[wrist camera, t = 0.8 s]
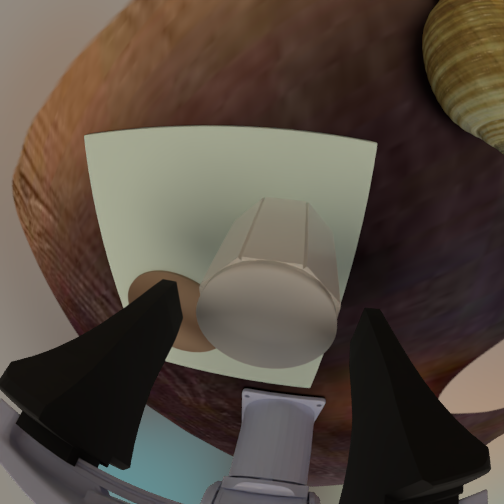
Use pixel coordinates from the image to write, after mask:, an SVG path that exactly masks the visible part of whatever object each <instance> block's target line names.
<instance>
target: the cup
mask: <svg viewBox="0 0 504 504" xmlns="http://www.w3.org/2000/svg"><path fill="white" fill-rule="evenodd" d="M199 291H200V297H199V299H198V302H197V307H196V317H197V322H198V325H199V327H200V329H201V331H202V333H203V334H204V336H205V337H206V338H207V340H208V341H209V342H210V343H211V344H212V345H213V346H214V347H215V348H217V349H218V350H219V351H221V352H222V353H223V354H225V355H227V356H228V357H230V358H232V359H234V360H237V361H239V362H242V363H244V364H248V365H251V366H255V367H260V368H269V369H284V368H292V367H296V366H300V365H303V364H306V363H309V362H311V361H313V360H315V359H317V358H318V357H320V356H321V355H322V354H324V353H325V352H326V351H327V350H328V349H329V347H330V346H331V344H332V343H333V341H334V339H335V336H336V332H337V317H338V314H339V311H340V308H341V302H340V291H339V280H338V270H337V261H336V253H335V245H334V237H333V232H332V231H331V229H330V228H329V227H328V226H327V224H326V223H325V222H324V221H323V219H322V218H321V217H320V216H319V214H318V213H317V212H316V211H315V210H314V208H313V207H312V206H311V205H310V204H309V203H308V204H306V201H299V200H290V199H282V198H273V197H265V199H264V198H262V199H261V200H259V201H258V202H257V203H255V204H254V205H253V206H252V207H250V208H249V209H248V210H247V211H245V212H244V213H243V214H242V215H241V216H239V217H238V218H237V219H236V220H235V221H234V223H233V224H232V226H231V228H230V230H229V232H228V233H227V235H226V237H225V239H224V241H223V243H222V244H221V246H220V248H219V250H218V252H217V254H216V256H215V257H214V259H213V261H212V263H211V265H210V267H209V269H208V271H207V272H206V274H205V276H204V278H203V280H202V282H201V284H200V286H199Z"/></svg>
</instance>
